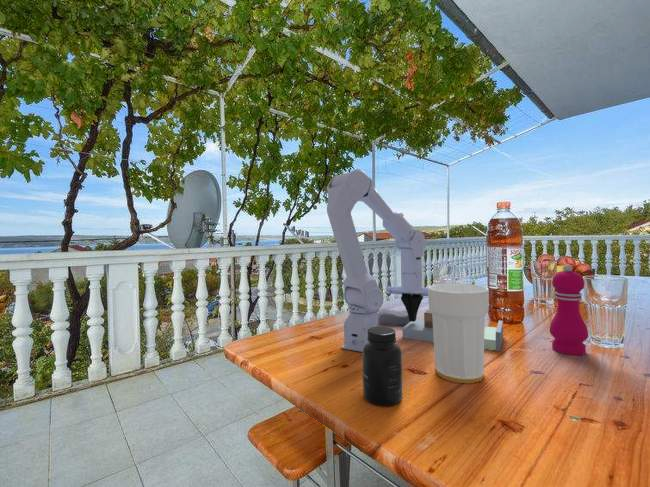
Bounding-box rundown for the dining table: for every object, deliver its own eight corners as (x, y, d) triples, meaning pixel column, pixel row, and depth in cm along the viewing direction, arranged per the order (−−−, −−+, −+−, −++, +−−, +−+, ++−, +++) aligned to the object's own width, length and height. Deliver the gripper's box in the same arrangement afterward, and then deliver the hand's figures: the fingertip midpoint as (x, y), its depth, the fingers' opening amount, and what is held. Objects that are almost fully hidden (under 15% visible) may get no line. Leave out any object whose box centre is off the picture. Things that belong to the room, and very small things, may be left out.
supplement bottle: (355, 398, 57) (353, 330, 57) (378, 384, 62) (376, 322, 62) (388, 412, 53) (386, 338, 52) (410, 396, 57) (408, 328, 57)
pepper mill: (548, 343, 81) (547, 262, 80) (585, 347, 77) (585, 263, 76) (550, 353, 75) (550, 265, 74) (591, 358, 71) (590, 266, 70)
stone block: (380, 322, 111) (376, 324, 101) (380, 308, 112) (377, 309, 102) (416, 325, 108) (416, 328, 98) (416, 310, 108) (416, 311, 99)
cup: (494, 369, 67) (493, 285, 67) (485, 392, 58) (484, 294, 57) (438, 358, 74) (436, 281, 73) (422, 377, 64) (420, 290, 64)
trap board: (402, 337, 89) (402, 321, 89) (414, 326, 98) (413, 311, 98) (500, 351, 76) (500, 332, 76) (503, 337, 86) (503, 320, 86)
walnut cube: (439, 329, 87) (439, 314, 87) (424, 327, 89) (424, 312, 89) (442, 325, 90) (442, 310, 90) (428, 323, 92) (427, 309, 92)
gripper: (441, 272, 92) (442, 319, 92) (391, 270, 99) (392, 314, 100) (435, 275, 86) (436, 326, 86) (383, 273, 93) (384, 320, 94)
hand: (412, 320), depth 93 cm, fingers closed
